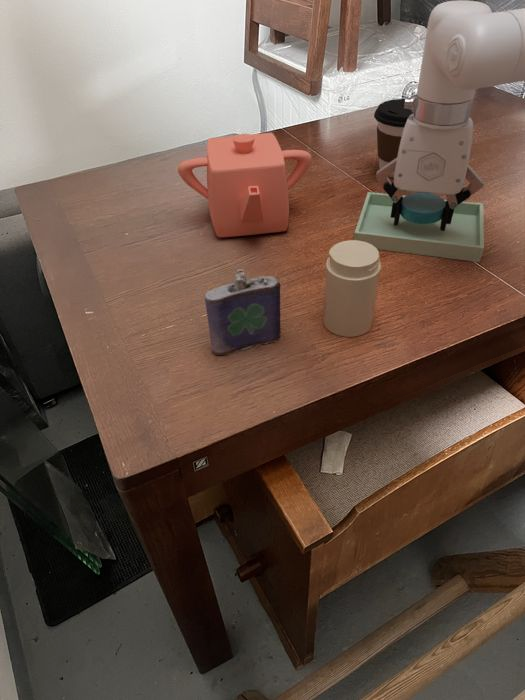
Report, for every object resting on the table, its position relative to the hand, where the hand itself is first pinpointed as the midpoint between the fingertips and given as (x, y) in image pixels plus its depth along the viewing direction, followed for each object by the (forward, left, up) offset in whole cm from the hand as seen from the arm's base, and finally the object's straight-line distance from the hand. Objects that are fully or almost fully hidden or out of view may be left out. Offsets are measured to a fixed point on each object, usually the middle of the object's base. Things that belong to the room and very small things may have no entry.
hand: (419, 223), depth 82 cm
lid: (0, 0, +3) cm, 3 cm away
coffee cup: (+6, -22, -2) cm, 23 cm away
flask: (+19, +33, -2) cm, 38 cm away
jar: (+7, +26, -1) cm, 27 cm away
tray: (0, 0, -1) cm, 1 cm away
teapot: (+28, +4, -2) cm, 28 cm away
